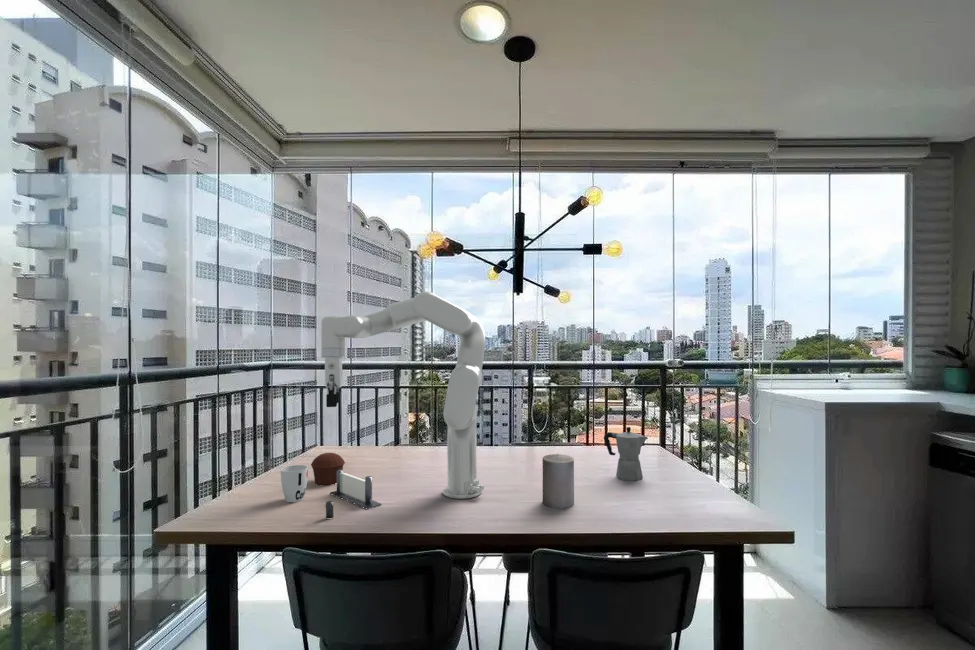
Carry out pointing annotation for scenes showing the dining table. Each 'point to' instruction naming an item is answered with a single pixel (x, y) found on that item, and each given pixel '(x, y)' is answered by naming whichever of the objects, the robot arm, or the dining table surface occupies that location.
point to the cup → (294, 482)
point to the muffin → (327, 468)
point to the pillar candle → (558, 481)
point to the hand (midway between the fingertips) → (332, 404)
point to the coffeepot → (627, 454)
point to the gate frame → (368, 496)
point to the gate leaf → (352, 486)
